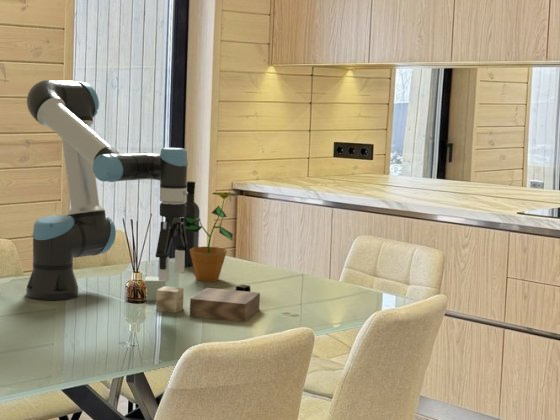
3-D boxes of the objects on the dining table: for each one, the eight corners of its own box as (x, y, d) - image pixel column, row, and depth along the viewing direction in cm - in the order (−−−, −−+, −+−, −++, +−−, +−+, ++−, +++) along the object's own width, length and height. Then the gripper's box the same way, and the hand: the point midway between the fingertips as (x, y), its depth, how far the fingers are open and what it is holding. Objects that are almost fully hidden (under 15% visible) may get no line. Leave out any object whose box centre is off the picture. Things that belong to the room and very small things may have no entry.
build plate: (241, 305, 287) (242, 290, 286) (221, 302, 290) (221, 287, 289) (262, 298, 297) (263, 284, 297) (242, 295, 301) (243, 281, 300)
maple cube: (156, 310, 274) (156, 290, 273) (163, 306, 279) (164, 286, 279) (176, 312, 272) (176, 292, 271) (183, 308, 278) (183, 287, 277)
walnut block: (189, 316, 268) (190, 298, 268) (206, 304, 284) (207, 287, 283) (244, 321, 265) (245, 304, 264) (259, 309, 280) (259, 292, 280)
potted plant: (245, 279, 324) (248, 190, 320) (211, 287, 308) (215, 194, 305) (202, 271, 334) (205, 185, 330) (168, 279, 318) (171, 189, 314)
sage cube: (144, 300, 286) (145, 280, 285) (144, 295, 292) (145, 276, 291) (164, 300, 287) (165, 280, 286) (164, 296, 293) (165, 276, 292)
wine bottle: (177, 265, 344) (180, 181, 340) (184, 262, 349) (187, 180, 345) (191, 266, 342) (194, 182, 338) (198, 264, 347) (201, 181, 343)
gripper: (171, 207, 259) (169, 285, 261) (199, 199, 283) (197, 270, 286) (144, 206, 261) (143, 283, 263) (175, 197, 285) (173, 268, 287)
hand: (171, 276), depth 274 cm, fingers open, 13 cm apart
